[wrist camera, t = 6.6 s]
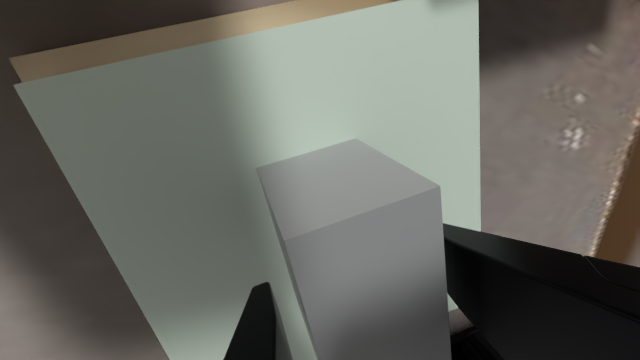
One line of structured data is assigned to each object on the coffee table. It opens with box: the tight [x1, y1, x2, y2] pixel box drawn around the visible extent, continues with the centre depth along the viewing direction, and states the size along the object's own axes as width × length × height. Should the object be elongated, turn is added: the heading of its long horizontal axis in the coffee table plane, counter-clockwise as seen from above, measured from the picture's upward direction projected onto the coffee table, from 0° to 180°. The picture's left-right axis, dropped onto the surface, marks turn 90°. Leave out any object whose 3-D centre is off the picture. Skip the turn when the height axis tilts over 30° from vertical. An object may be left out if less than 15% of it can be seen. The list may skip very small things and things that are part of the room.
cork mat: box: [9, 0, 400, 83], centre depth 12 cm, size 13×13×1 cm
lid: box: [13, 0, 481, 360], centre depth 9 cm, size 12×12×6 cm
